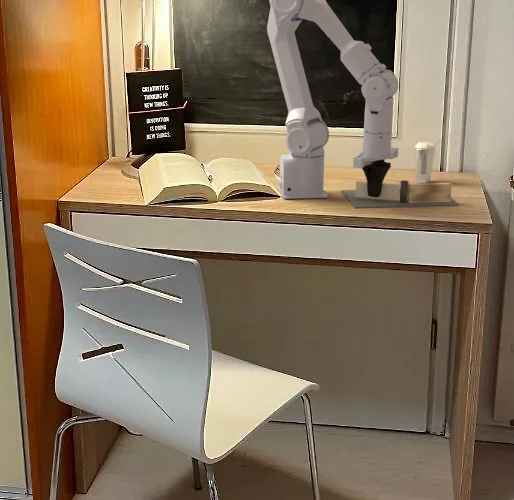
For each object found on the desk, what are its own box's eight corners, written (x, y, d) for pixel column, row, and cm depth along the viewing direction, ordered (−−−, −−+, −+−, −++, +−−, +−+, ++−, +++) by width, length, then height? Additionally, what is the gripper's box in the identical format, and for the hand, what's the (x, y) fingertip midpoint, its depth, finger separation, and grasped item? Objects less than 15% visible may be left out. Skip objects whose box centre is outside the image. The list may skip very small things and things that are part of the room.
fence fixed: (400, 202, 188) (401, 182, 186) (398, 200, 189) (399, 180, 188) (450, 201, 189) (452, 181, 188) (448, 199, 191) (450, 179, 189)
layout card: (354, 208, 185) (354, 206, 185) (340, 191, 198) (341, 189, 198) (458, 205, 187) (458, 203, 187) (438, 189, 200) (438, 187, 200)
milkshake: (436, 184, 204) (439, 141, 201) (412, 183, 205) (415, 139, 202) (436, 180, 208) (439, 137, 205) (413, 178, 209) (416, 136, 206)
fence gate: (398, 198, 189) (399, 183, 188) (398, 199, 188) (399, 184, 187) (356, 195, 191) (356, 180, 190) (355, 196, 190) (356, 182, 189)
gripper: (375, 139, 176) (372, 206, 180) (412, 129, 187) (408, 192, 191) (345, 134, 180) (342, 200, 184) (383, 124, 191) (379, 187, 195)
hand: (374, 196), depth 188 cm, fingers closed, pressing on fence gate
